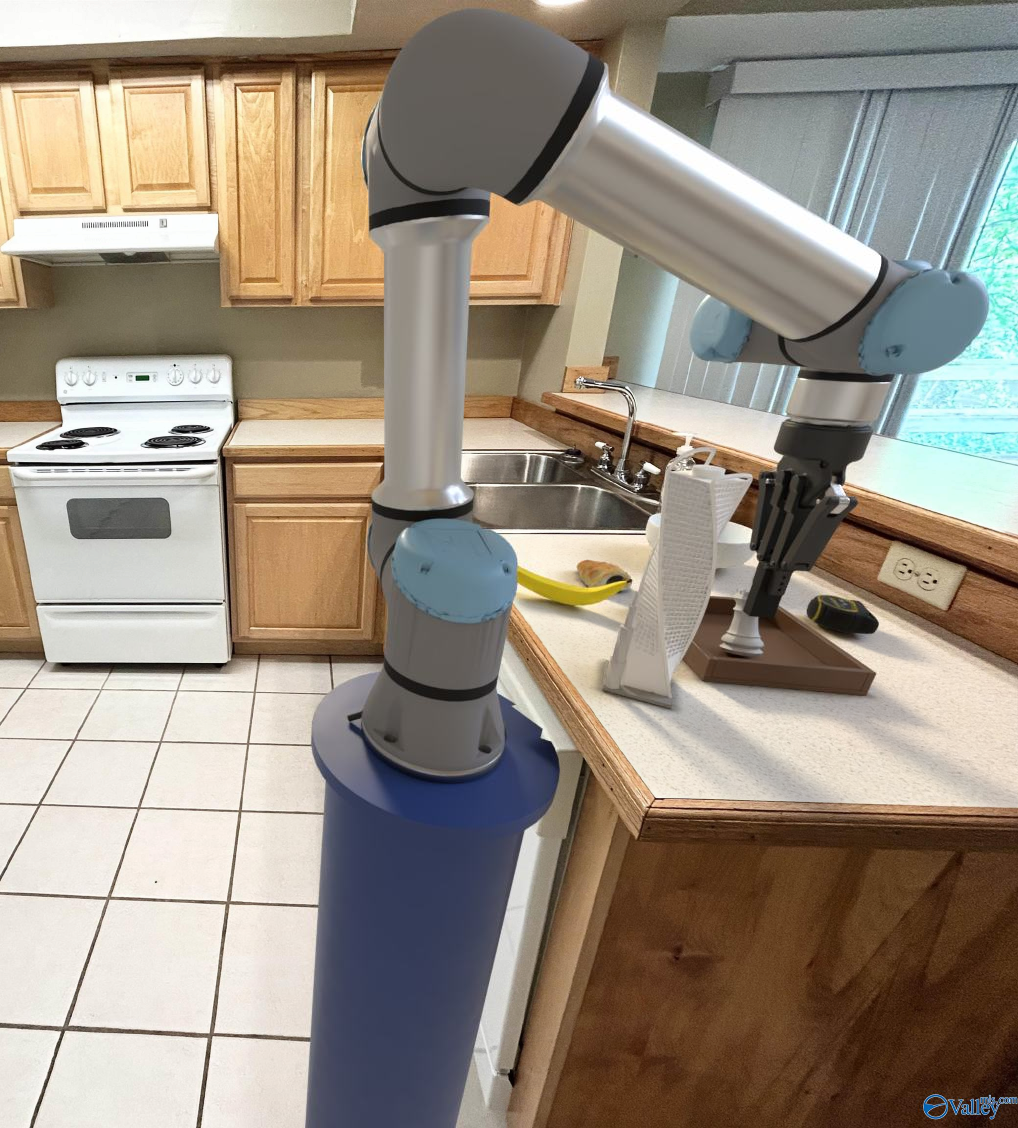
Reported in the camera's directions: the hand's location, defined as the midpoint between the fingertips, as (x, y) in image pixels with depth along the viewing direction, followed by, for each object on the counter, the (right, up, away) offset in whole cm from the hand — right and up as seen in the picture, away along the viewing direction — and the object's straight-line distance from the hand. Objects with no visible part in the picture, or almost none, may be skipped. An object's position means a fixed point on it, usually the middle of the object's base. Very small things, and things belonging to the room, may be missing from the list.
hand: (758, 614), depth 73 cm
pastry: (-5, +3, +26) cm, 26 cm away
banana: (-16, 0, +19) cm, 25 cm away
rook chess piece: (0, -5, +3) cm, 6 cm away
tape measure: (+22, -3, +12) cm, 25 cm away
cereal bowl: (+17, +6, +34) cm, 39 cm away
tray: (+3, -5, +6) cm, 9 cm away
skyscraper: (-15, -8, -2) cm, 18 cm away
